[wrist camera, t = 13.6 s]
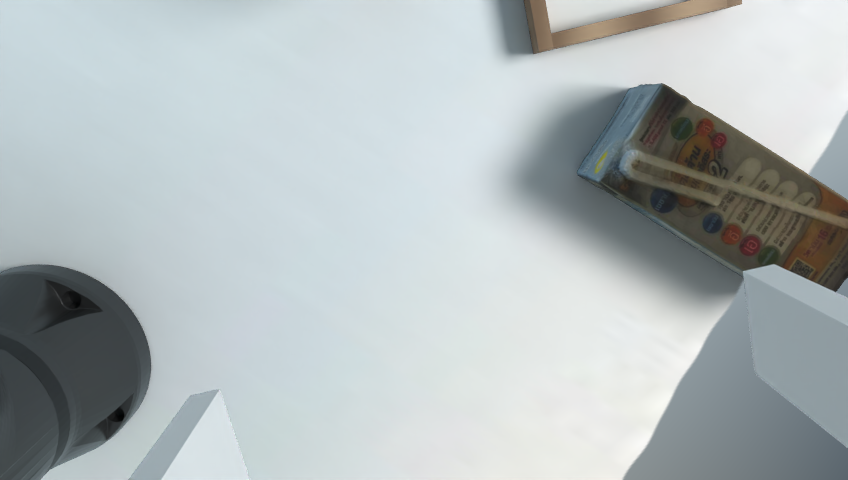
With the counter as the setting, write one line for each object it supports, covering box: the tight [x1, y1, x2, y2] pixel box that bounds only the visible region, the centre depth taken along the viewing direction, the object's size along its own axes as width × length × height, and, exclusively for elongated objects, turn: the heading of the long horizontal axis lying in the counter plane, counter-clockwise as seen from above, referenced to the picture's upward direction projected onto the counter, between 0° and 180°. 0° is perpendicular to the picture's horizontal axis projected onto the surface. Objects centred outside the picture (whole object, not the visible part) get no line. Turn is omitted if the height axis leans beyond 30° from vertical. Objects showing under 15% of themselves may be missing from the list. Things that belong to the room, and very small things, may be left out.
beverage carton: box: [577, 83, 848, 292], centre depth 44 cm, size 8×19×7 cm, turn 59°
